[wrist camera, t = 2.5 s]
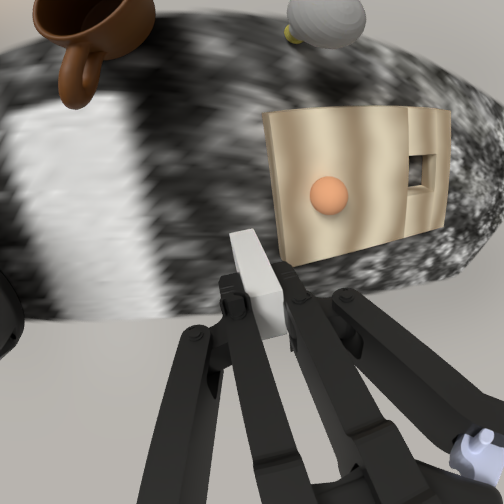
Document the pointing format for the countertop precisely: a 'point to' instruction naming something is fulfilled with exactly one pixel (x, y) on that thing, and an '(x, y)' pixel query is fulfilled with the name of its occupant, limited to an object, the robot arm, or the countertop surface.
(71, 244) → the countertop surface
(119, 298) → the countertop surface
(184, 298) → the countertop surface
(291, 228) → the wooden board with hole
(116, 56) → the mug
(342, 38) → the light bulb
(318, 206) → the ball
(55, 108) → the countertop surface
